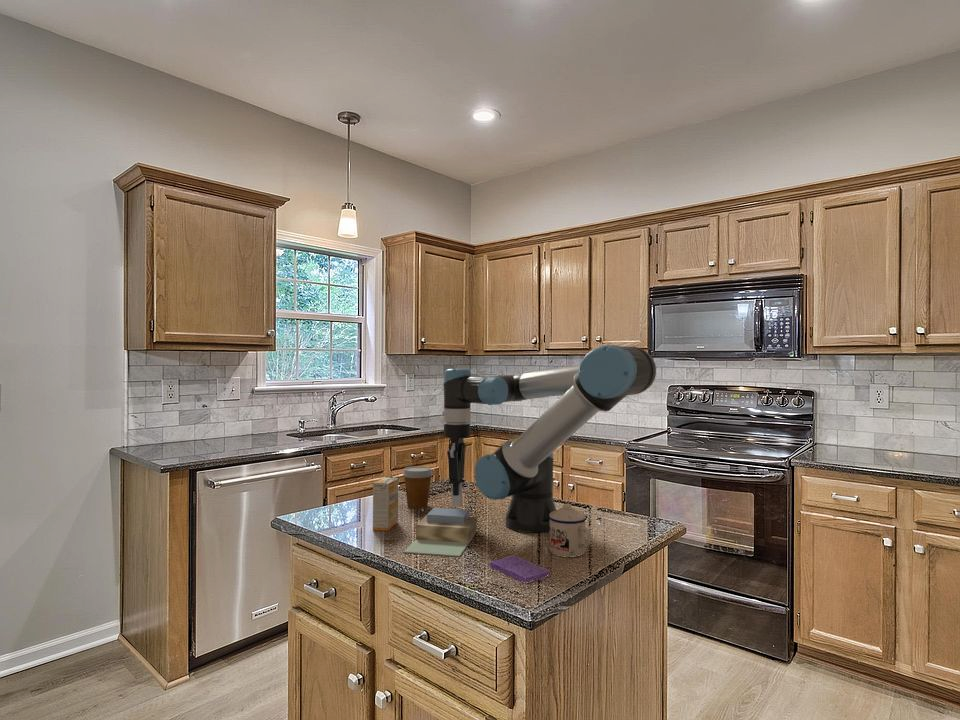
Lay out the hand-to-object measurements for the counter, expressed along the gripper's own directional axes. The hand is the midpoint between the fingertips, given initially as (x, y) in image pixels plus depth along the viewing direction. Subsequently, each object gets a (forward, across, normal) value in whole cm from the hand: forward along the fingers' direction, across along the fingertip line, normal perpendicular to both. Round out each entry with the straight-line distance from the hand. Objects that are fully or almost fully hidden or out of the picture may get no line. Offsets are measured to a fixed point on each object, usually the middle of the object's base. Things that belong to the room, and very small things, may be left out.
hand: (456, 505), depth 164 cm
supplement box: (+6, +6, -19) cm, 21 cm away
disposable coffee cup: (+6, -17, -17) cm, 25 cm away
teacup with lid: (+5, +18, +33) cm, 38 cm away
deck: (+5, +11, 0) cm, 12 cm away
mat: (+5, +21, 0) cm, 22 cm away
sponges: (+6, +32, +22) cm, 39 cm away
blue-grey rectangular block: (+1, +10, 0) cm, 10 cm away
